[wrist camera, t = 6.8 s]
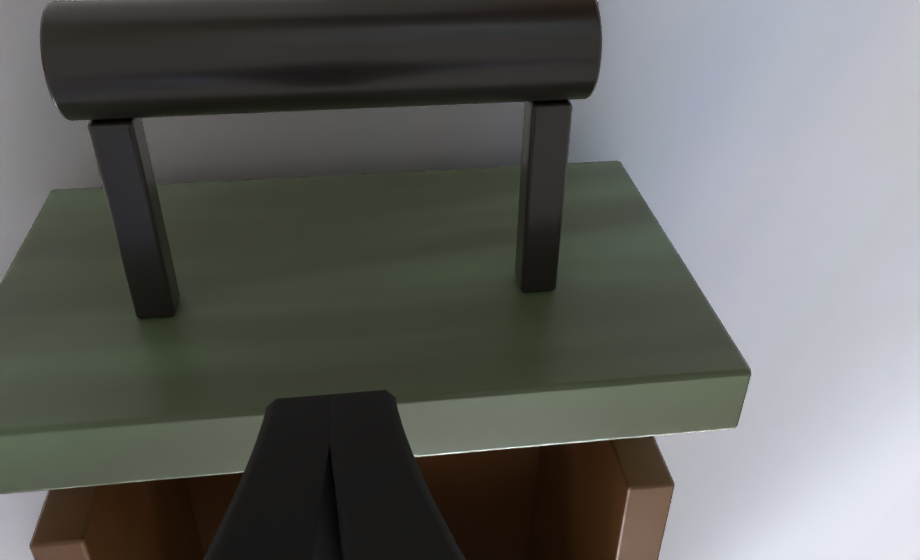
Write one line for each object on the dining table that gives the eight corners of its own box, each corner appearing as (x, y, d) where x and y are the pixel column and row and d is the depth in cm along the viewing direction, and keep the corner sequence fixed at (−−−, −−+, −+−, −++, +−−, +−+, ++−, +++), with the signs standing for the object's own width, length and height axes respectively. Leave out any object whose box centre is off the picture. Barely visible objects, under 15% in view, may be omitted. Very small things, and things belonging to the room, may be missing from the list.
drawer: (-28, -71, 14) (-263, 88, 8) (652, -84, 15) (842, 48, 10) (175, 608, 24) (130, 881, 19) (567, 566, 25) (635, 810, 20)
